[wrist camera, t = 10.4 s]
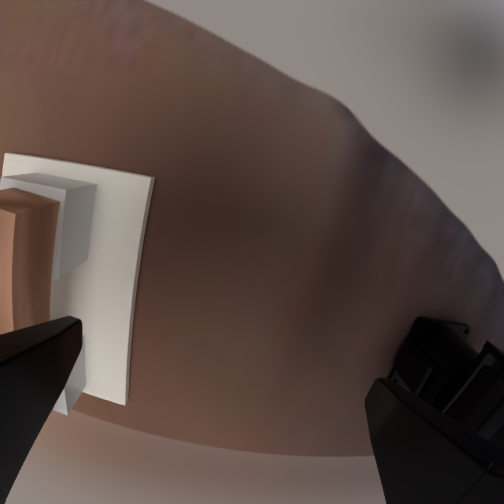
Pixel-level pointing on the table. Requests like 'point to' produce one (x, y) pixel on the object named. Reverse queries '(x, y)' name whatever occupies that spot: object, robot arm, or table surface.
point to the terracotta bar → (26, 257)
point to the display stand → (92, 263)
